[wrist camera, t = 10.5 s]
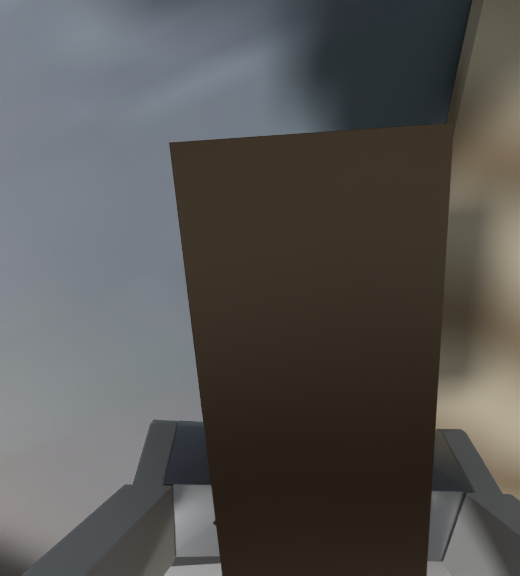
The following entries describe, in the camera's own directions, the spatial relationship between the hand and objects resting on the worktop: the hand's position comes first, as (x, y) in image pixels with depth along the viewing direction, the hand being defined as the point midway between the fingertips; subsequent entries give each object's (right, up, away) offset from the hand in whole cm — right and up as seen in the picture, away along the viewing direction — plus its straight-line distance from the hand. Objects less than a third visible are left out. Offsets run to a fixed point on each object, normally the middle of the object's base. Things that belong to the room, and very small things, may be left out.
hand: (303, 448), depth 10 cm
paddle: (0, -2, +2) cm, 3 cm away
